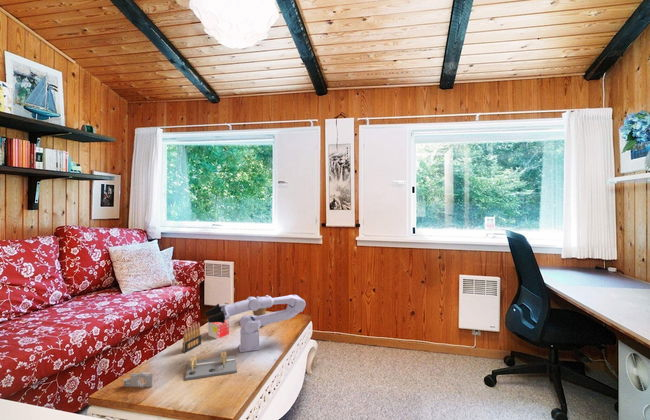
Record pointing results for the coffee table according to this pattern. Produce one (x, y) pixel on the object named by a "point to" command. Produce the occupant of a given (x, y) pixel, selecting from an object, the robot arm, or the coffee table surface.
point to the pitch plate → (210, 367)
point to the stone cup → (259, 312)
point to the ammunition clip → (191, 338)
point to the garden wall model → (136, 382)
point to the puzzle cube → (218, 329)
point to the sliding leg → (223, 358)
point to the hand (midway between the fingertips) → (206, 317)
